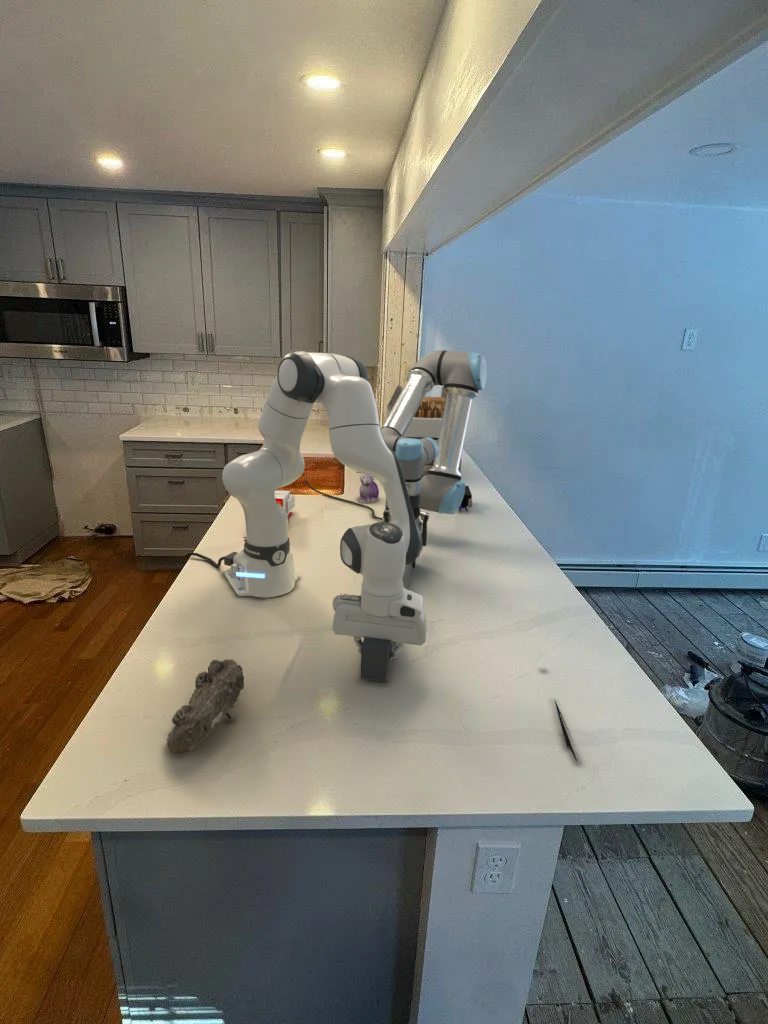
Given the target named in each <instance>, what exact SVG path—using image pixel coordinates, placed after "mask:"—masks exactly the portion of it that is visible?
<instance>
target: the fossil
mask: <svg viewBox="0 0 768 1024" xmlns="http://www.w3.org/2000/svg"><path fill="white" fill-rule="evenodd" d="M243 670H244V669H243V667H242V665H240V664H237V662H236V661H235V660H234V659H232V658H231V659H227V658H226V659H224V660H223V661H222V660H217V659H212V660H211V661H210V663H209V665H208V666H207V671H201V672H199V673H198V674H197V675H196V676H195V680H194V684H195V685H194V687H195V689H194V690H193V693H192V694H191V697H190V698H189V700H188V704H184V705H182V706H181V707H180V709H177V710H176V711H175V713H174V715H173V716H172V718H171V723H172V724H173V727H172V730H171V731H170V732H168V734H167V738H166V741H167V742H166V745H167V749H168V750H169V751H173V752H174V753H176V754H178V753H182V752H188V751H189V752H192V751H193V750H195V748H196V747H197V746H199V744H200V743H201V742H203V741H204V740H205V739H206V738H207V737H208V736H209V735H210V734H211V733H212V732H214V730H215V729H217V727H218V726H219V724H220V722H221V721H222V720H223V719H224V718H225V716H226V717H227V719H229V720H233V717H232V715H230V714H229V710H230V709H231V708H234V706H235V704H236V703H237V702H238V699H239V697H240V695H241V693H242V691H243V690H245V689H244V688H245V675H244V671H243Z"/></svg>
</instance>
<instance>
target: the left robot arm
mask: <svg viewBox="0 0 768 1024" xmlns="http://www.w3.org/2000/svg"><path fill="white" fill-rule="evenodd" d="M266 396H267V397H266V399H265V402H264V405H263V408H262V411H261V414H260V417H259V419H258V424H257V428H258V432H259V433H260V435H261V436H262V438H263V444H262V446H261V447H260V448H259V449H258V450H256V451H253V452H249V453H245V454H242V455H240V456H238V457H236V458H234V459H233V460H231V461H230V462H228V463H226V465H225V466H224V468H223V469H222V474H221V479H222V480H221V481H222V484H223V487H224V489H225V490H226V491H227V493H228V494H229V495H230V496H231V497H233V498H235V499H236V500H237V501H238V502H239V504H240V506H241V508H242V511H243V514H244V520H245V522H244V523H245V533H246V536H244V537H243V540H242V541H243V542H244V544H243V549H242V550H240V551H239V552H237V551H232V552H231V553H228V554H227V555H224V556H221V557H219V558H218V561H217V563H216V561H214V560H213V559H212V558H210V557H208V556H205V555H203V554H201V553H198V552H195V551H194V552H195V553H194V552H193V551H191V552H187V553H186V554H185V555H184V558H188V557H190V556H195V557H198V558H200V559H203V560H205V561H207V562H209V563H210V564H212V565H213V566H214V567H215V568H220V567H221V565H222V561H223V564H224V566H229V567H230V568H227V569H226V570H225V571H224V577H225V578H226V580H227V582H228V583H229V584H230V586H231V587H232V589H233V590H234V592H235V593H236V595H237V596H239V597H254V598H255V597H256V598H261V599H262V598H264V599H265V598H266V599H267V598H275V597H280V596H283V595H286V594H288V593H290V592H291V591H292V590H293V589H294V588H295V585H296V582H297V580H298V579H299V574H298V573H296V571H295V562H294V554H293V553H292V552H291V542H290V537H289V522H288V521H289V519H288V515H287V512H286V510H285V509H284V508H283V507H282V506H280V505H278V504H277V502H276V499H275V490H278V489H281V488H285V487H287V486H289V485H291V484H293V483H294V482H295V481H297V480H298V479H299V478H300V477H301V476H302V475H303V474H304V472H305V467H306V463H305V458H304V456H303V454H302V452H301V450H300V449H301V441H302V438H303V435H304V432H305V429H306V426H307V423H308V421H309V418H310V416H311V413H312V411H313V407H314V404H315V403H316V404H321V405H323V406H324V408H325V409H326V413H327V424H328V435H329V443H330V447H331V451H332V454H333V456H334V457H335V458H336V460H337V461H338V462H339V463H341V464H342V465H343V466H345V467H346V468H348V469H351V470H353V471H356V472H360V473H361V474H362V473H365V474H368V475H370V476H373V477H374V479H376V480H377V481H378V482H379V483H380V484H381V486H382V488H383V491H384V495H385V500H386V499H387V503H388V507H389V511H390V514H391V522H389V523H388V522H382V521H378V522H374V523H371V524H365V525H357V526H352V527H349V528H347V529H346V530H345V531H344V533H343V535H342V537H341V539H340V543H339V553H340V554H339V555H340V560H341V562H342V563H343V564H344V566H346V567H347V568H349V570H351V571H353V572H354V573H356V574H359V575H361V576H362V580H361V586H360V595H357V594H356V595H355V594H347V593H339V595H336V596H334V597H333V599H332V608H333V611H334V615H333V621H332V631H333V633H334V635H338V636H344V637H345V636H347V637H353V641H354V643H355V645H356V646H357V649H358V650H357V653H358V654H361V646H362V643H363V640H362V639H364V637H369V638H377V639H386V640H390V641H391V642H395V646H394V647H391V650H390V657H392V659H397V656H398V653H399V651H400V650H401V649H402V647H403V645H404V644H408V645H414V646H423V645H424V644H425V643H426V640H427V614H426V611H425V609H424V597H423V595H421V594H419V593H416V592H414V591H412V590H409V588H408V589H405V588H403V587H404V586H403V581H402V577H403V574H404V571H405V565H411V564H412V563H413V562H414V561H415V560H416V561H417V560H418V558H419V557H420V556H421V553H422V551H423V548H424V546H423V541H422V535H421V533H420V530H419V528H418V526H417V523H416V521H415V518H414V515H413V511H412V507H411V503H410V499H409V495H408V492H407V488H406V484H405V480H404V476H403V473H402V469H401V466H400V463H399V460H398V458H397V456H396V454H395V453H394V452H393V451H392V450H390V449H389V448H388V447H387V446H386V444H385V442H384V440H383V438H382V435H381V432H380V428H381V427H380V426H381V425H380V418H379V412H378V406H377V402H376V398H375V394H374V391H373V387H372V385H371V383H370V382H369V373H368V369H367V367H366V365H365V364H364V363H363V362H361V361H360V360H358V359H356V358H354V357H351V356H348V355H347V356H344V355H341V354H338V353H337V354H336V353H332V352H307V351H304V350H302V351H301V350H300V351H292V352H289V353H287V354H285V355H284V356H283V357H282V359H281V360H280V363H279V364H278V367H277V374H276V376H275V378H274V380H273V381H272V383H271V386H270V389H269V391H268V393H267V395H266ZM419 555H420V556H419ZM418 556H419V557H418Z"/></svg>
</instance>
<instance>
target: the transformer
mask: <svg viewBox="0 0 768 1024" xmlns="http://www.w3.org/2000/svg"><path fill="white" fill-rule="evenodd" d="M403 388H404V387H402V385H399V384H398V385H397V386H396V388H395V390H394V392H393V394H392V395H391V398H390V400H389V402H388V404H387V405H386V413H385V414H386V415H385V419H386V418H387V416H388V414H389V413H390V411H391V409H392V407H393V406H394V404H395V402H396V400H397V398H398V397H399V395H400V393H401V391H402V390H403ZM443 388H444V386H442V387H441V392H440V393H441V394H440V396H425V397H424V399H423V401H422V402H421V404H420V406H419V408H418V410H417V412H416V414H415V415H414V417H413V419H412V421H411V423H410V425H409V427H408V428H407V430H406V432H405V434H404V436H403V437H405V438H413V439H421V438H426V437H428V438H432V439H433V440H435V441H436V443H438V438H439V433H440V428H441V422H442V417H443V412H444V407H445V402H446V397H447V396H446V394H445V392H444V391H443ZM462 461H463V460H462V457H461V459H460V464H459V469H458V470H459V472H460V474H461V475H462V473H461V472H462ZM433 464H434V460H433V461H432V462H431V463H429V464H427V465H425V466H424V467H432V466H433Z"/></svg>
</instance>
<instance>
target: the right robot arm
mask: <svg viewBox="0 0 768 1024" xmlns="http://www.w3.org/2000/svg"><path fill="white" fill-rule="evenodd" d="M487 371H488V367H487V361H486V358H485V356H484V355H483V354H481V353H480V352H479V353H478V352H472V351H458V350H457V351H456V350H446V349H438V350H434V351H431V352H429V353H427V354H425V355H424V356H422V357H421V358H420V359H418V360H417V361H416V362H415V363H414V364H413V365H412V367H411V368H410V370H409V371H408V372H407V374H406V382H405V383H404V386H403V387H402V388H403V390H402V391H401V393H400V395H399V397H398V398H397V400H396V402H395V404H394V406H393V407H392V409H391V411H390V413H389V414H388V416H387V418H386V417H385V420H384V422H383V424H382V425H381V427H380V432H381V435H382V438H383V440H384V442H385V444H386V446H387V447H388V448H389V449H390V450H392V451H393V452H394V453H395V454H396V456H397V458H398V460H399V463H400V466H401V469H402V473H403V476H404V480H405V484H406V488H407V492H408V495H409V499H410V503H411V507H412V511H413V515H414V518H415V521H416V523H417V526H418V528H419V530H420V533H421V536H422V541H423V547H427V542H428V521H429V517H430V513H429V512H434V513H437V514H438V513H439V514H446V515H453V514H455V513H456V512H457V511H459V509H458V508H459V506H460V505H461V502H462V500H463V497H464V493H465V486H466V483H465V482H464V481H463V480H462V477H463V476H462V473H461V474H460V472H459V470H458V469H459V464H460V459H461V458H462V453H463V448H464V443H465V437H466V432H467V427H468V422H469V417H470V414H471V413H470V412H471V407H472V401H473V400H474V399H475V398H476V397H478V395H479V391H482V390H484V389H485V388H486V384H487V378H488V372H487ZM435 386H440V387H441V386H442V387H444V388H443V391H444V392H445V394H446V396H447V397H446V402H445V407H444V412H443V417H442V422H441V428H440V433H439V438H438V443H436V441H435V440H433V439H432V438H428V437H426V438H421V439H413V438H405V437H403V436H404V434H405V432H406V430H407V428H408V427H409V425H410V423H411V421H412V419H413V417H414V415H415V414H416V412H417V410H418V408H419V406H420V404H421V402H422V401H423V399H424V397H426V395H427V393H429V392H431V391H432V390H433V388H434V387H435ZM433 460H434V464H433V466H432V465H431V466H430V468H428V469H427V472H426V474H422V472H423V468H424V467H426V466H425V465H427V464H429V463H431V462H432V461H433ZM304 483H305V484H306V485H307V486H308V487H309V489H311V490H313V491H314V492H315V493H318V494H320V495H323V496H325V497H328V498H331V499H334V500H338V501H342V502H345V503H349V504H353V505H356V506H359V507H363V508H365V509H368V510H370V511H371V516H372V517H373V519H377V520H380V521H381V522H388V523H389V522H391V514H390V511H389V507H388V503H387V499H386V498H385V504H384V505H385V507H384V508H385V509H384V510H383V512H382V517H380V516H376V515H375V510H374V509H373V508H372V507H370V506H368V505H365V504H362V503H360V502H359V503H358V502H355V501H351V500H348V499H344V498H341V497H338V496H334V495H331V494H327V493H324V492H322V491H320V490H317V489H316V488H314V487H313V486H312V485H311V484H309V482H308V480H307V479H304ZM422 510H423V511H428V512H423V511H422ZM420 556H421V554H420V555H419V556H418V558H420ZM416 563H417V559H416V560H415V561H414V562H413V565H412V569H416Z"/></svg>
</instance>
